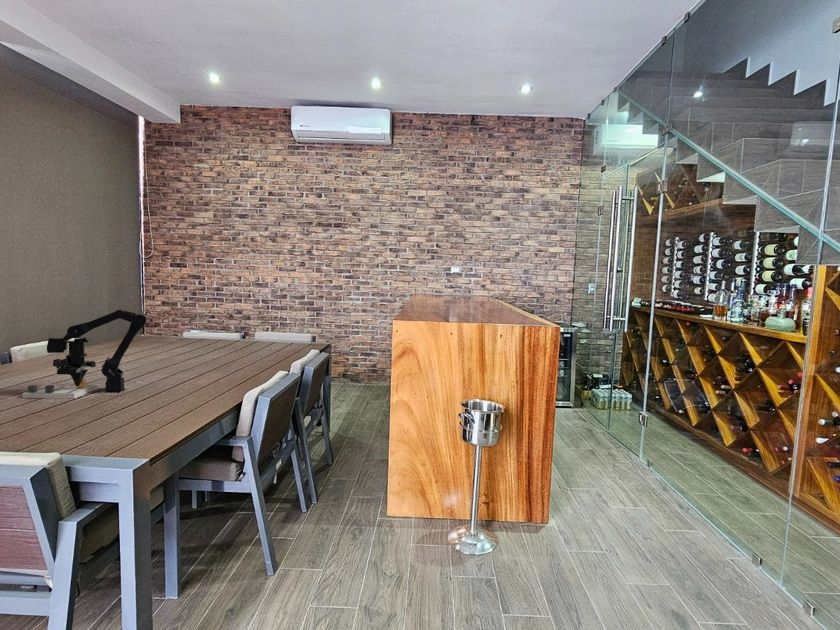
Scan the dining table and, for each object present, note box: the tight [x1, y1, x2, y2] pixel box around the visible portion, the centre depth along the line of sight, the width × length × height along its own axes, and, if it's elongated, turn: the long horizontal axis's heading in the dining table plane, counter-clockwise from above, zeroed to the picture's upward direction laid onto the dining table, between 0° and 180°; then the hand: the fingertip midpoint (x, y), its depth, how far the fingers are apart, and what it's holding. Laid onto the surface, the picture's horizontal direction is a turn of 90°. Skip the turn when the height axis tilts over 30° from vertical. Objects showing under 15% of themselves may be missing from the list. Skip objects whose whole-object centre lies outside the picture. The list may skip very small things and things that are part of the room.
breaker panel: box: [22, 383, 98, 399], centre depth 209 cm, size 21×17×5 cm
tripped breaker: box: [76, 378, 87, 388], centre depth 211 cm, size 3×2×4 cm, turn 96°
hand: (77, 386), depth 209 cm, fingers closed
